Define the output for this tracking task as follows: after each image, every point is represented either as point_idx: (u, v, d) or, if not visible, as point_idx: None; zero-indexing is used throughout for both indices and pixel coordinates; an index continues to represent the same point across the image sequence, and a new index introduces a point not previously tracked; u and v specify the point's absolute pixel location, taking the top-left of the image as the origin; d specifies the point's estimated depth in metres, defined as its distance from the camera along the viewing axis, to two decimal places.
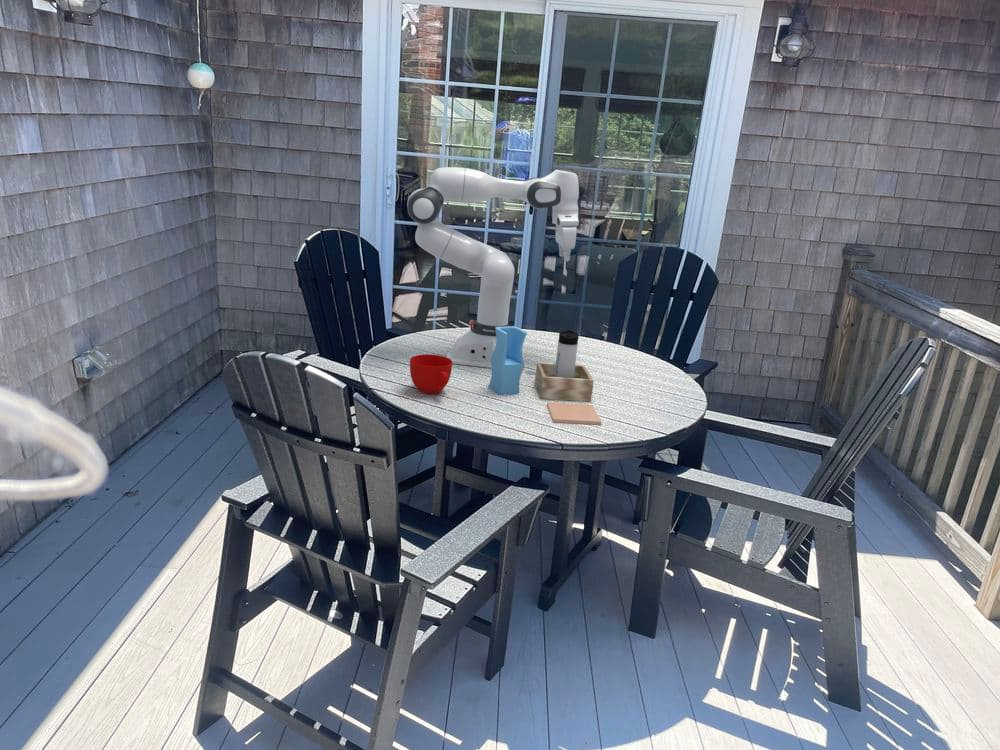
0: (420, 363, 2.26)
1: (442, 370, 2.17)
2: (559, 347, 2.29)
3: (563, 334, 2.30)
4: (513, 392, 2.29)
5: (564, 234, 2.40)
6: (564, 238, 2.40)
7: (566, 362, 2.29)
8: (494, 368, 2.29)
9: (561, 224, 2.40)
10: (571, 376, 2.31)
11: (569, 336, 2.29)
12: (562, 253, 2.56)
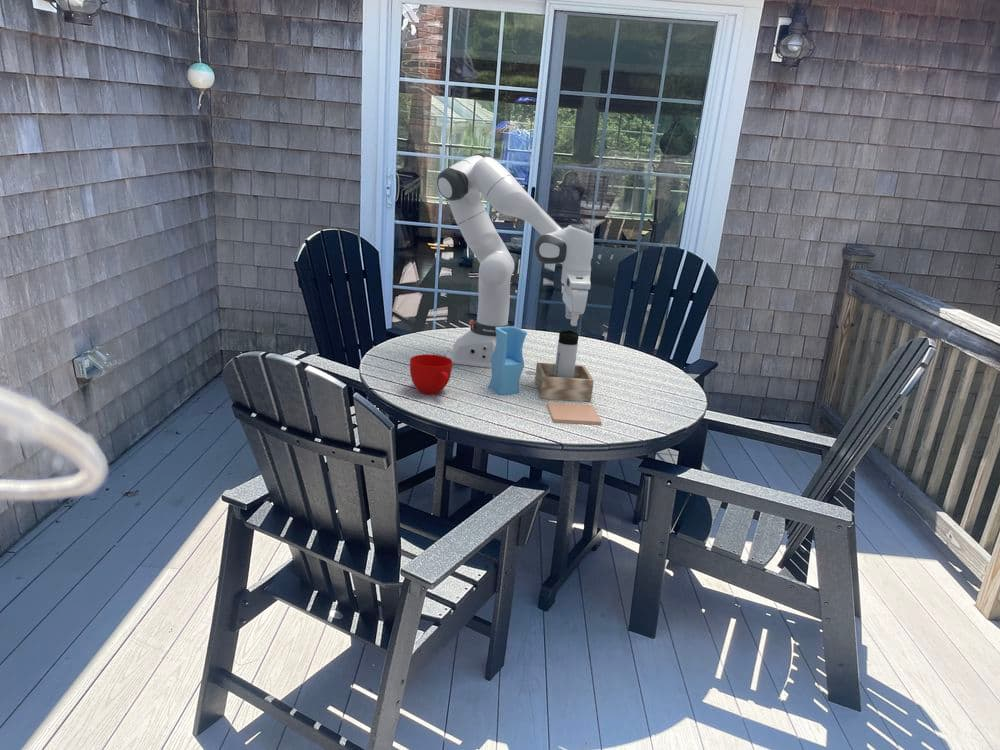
0: (420, 363, 2.26)
1: (442, 370, 2.17)
2: (559, 347, 2.29)
3: (563, 334, 2.30)
4: (513, 392, 2.29)
5: (574, 298, 2.16)
6: (573, 302, 2.17)
7: (566, 362, 2.29)
8: (494, 368, 2.29)
9: (571, 286, 2.16)
10: (571, 376, 2.31)
11: (569, 336, 2.29)
12: (569, 315, 2.32)
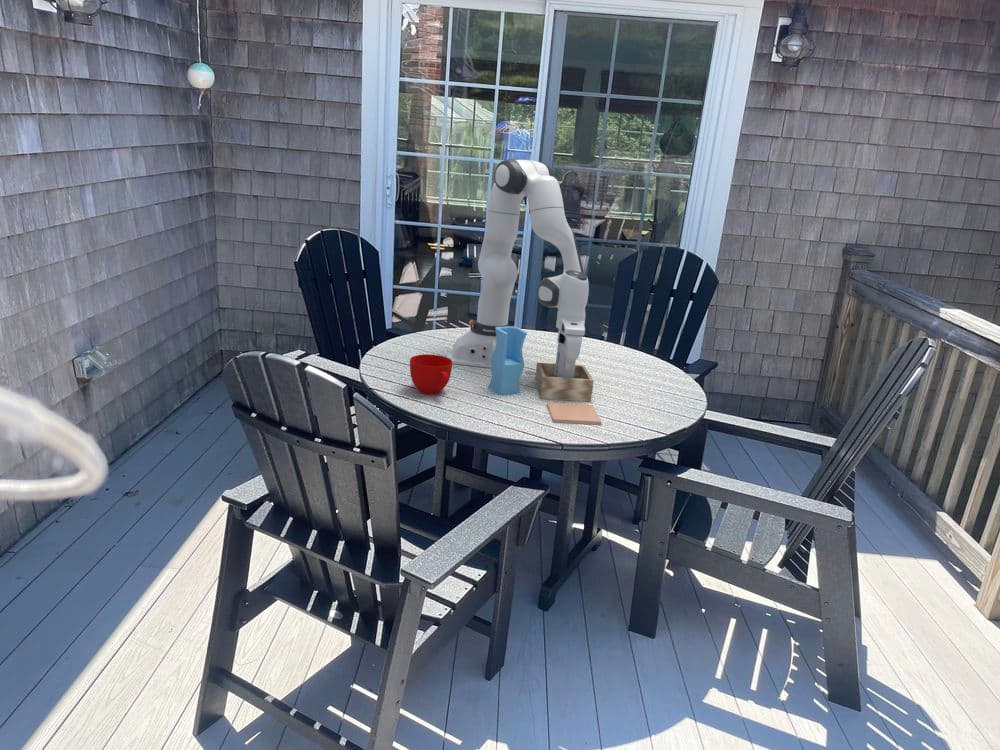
0: (420, 363, 2.26)
1: (442, 370, 2.17)
2: (559, 347, 2.29)
3: None
4: (513, 392, 2.29)
5: (568, 344, 2.21)
6: (568, 348, 2.21)
7: None
8: (494, 368, 2.29)
9: (566, 332, 2.21)
10: (571, 376, 2.31)
11: None
12: None
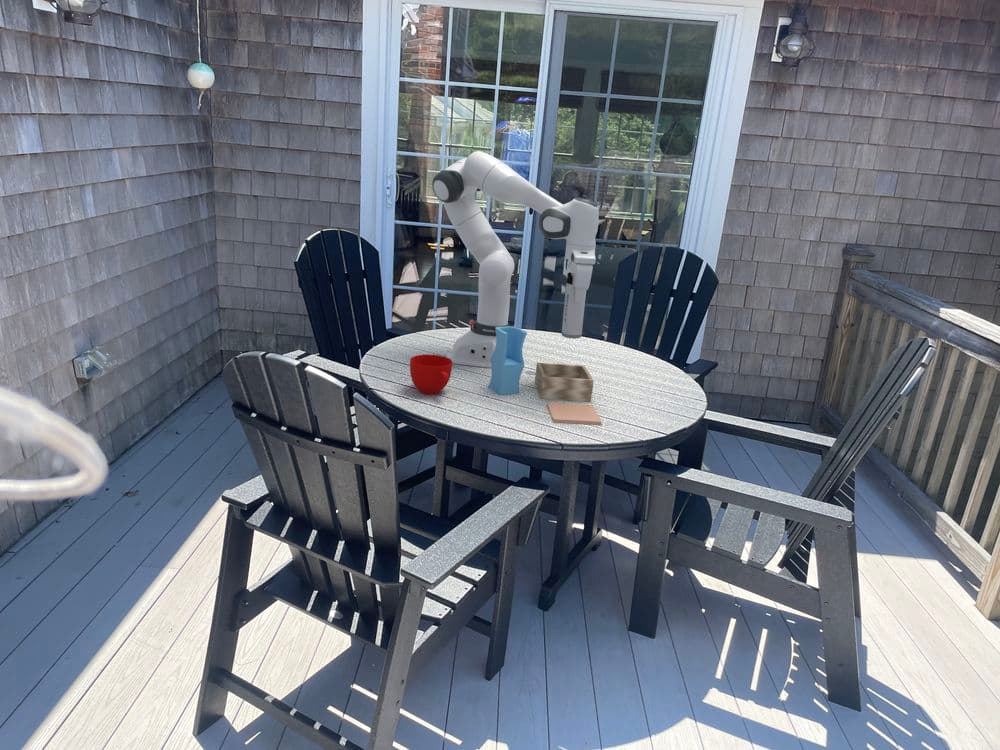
0: (420, 363, 2.26)
1: (442, 370, 2.17)
2: (568, 288, 2.21)
3: (571, 275, 2.22)
4: (513, 392, 2.29)
5: (578, 272, 2.11)
6: (578, 277, 2.12)
7: (575, 303, 2.21)
8: (494, 368, 2.29)
9: (576, 261, 2.11)
10: (581, 318, 2.23)
11: None
12: None
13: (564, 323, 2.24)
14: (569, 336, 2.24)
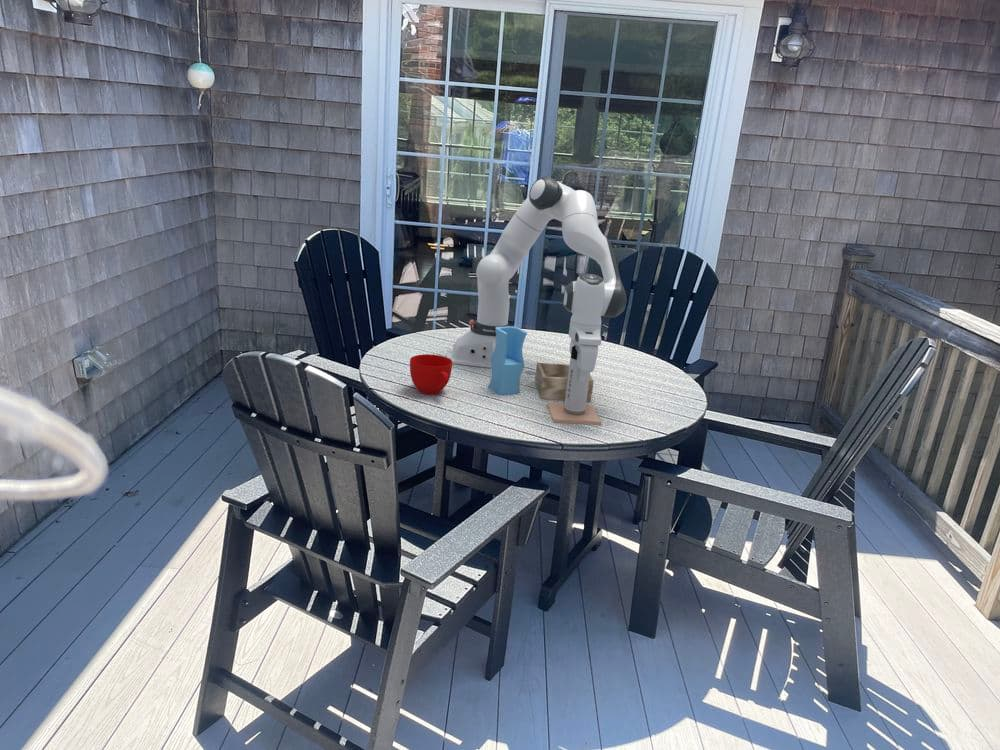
0: (420, 363, 2.26)
1: (442, 370, 2.17)
2: (572, 363, 2.09)
3: None
4: (513, 392, 2.29)
5: (583, 355, 2.00)
6: (582, 359, 2.00)
7: None
8: (494, 368, 2.29)
9: (580, 342, 2.00)
10: (585, 394, 2.12)
11: None
12: None
13: (567, 399, 2.13)
14: (572, 413, 2.12)
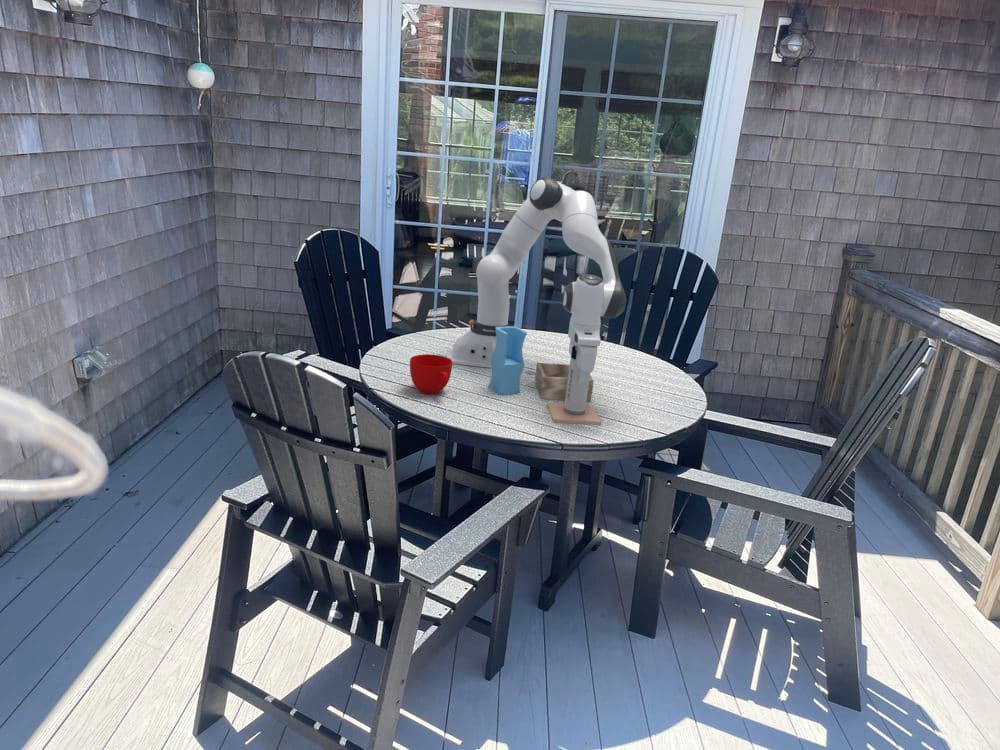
0: (420, 363, 2.26)
1: (442, 370, 2.17)
2: (572, 363, 2.09)
3: None
4: (513, 392, 2.29)
5: (582, 355, 2.00)
6: (581, 360, 2.00)
7: None
8: (494, 368, 2.29)
9: (579, 343, 2.00)
10: (585, 394, 2.12)
11: None
12: None
13: (567, 399, 2.13)
14: (572, 413, 2.12)
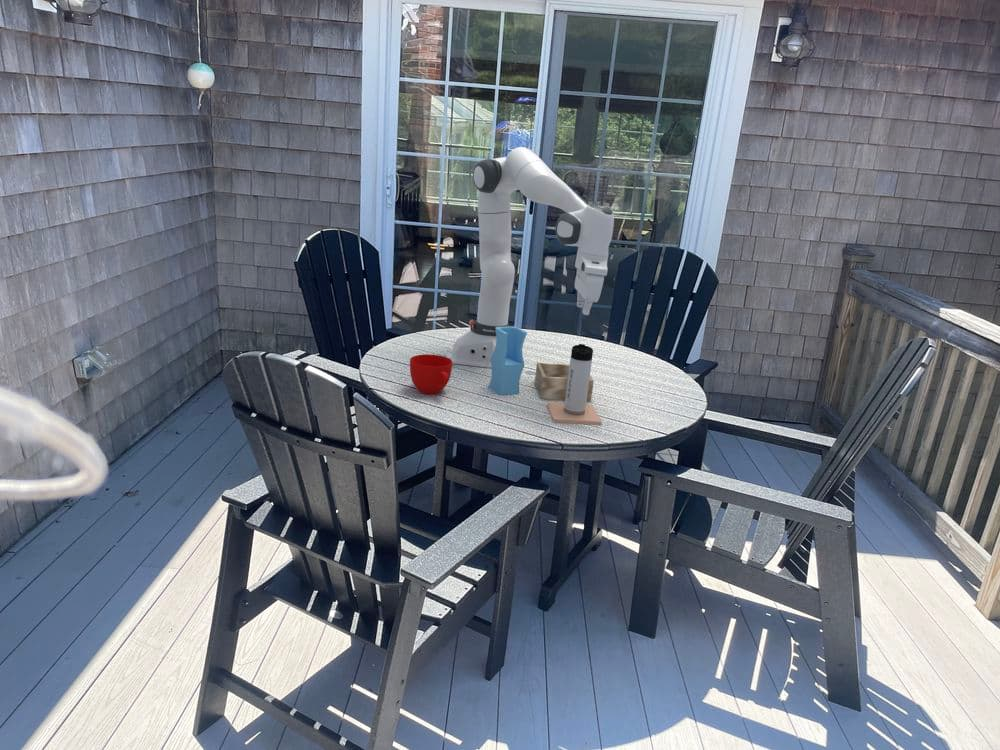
0: (420, 363, 2.26)
1: (442, 370, 2.17)
2: (572, 363, 2.09)
3: (576, 349, 2.10)
4: (513, 392, 2.29)
5: (588, 284, 1.98)
6: (587, 288, 1.98)
7: (580, 379, 2.09)
8: (494, 368, 2.29)
9: (586, 271, 1.98)
10: (585, 394, 2.12)
11: (583, 351, 2.09)
12: (580, 303, 2.13)
13: (567, 399, 2.13)
14: (572, 413, 2.12)
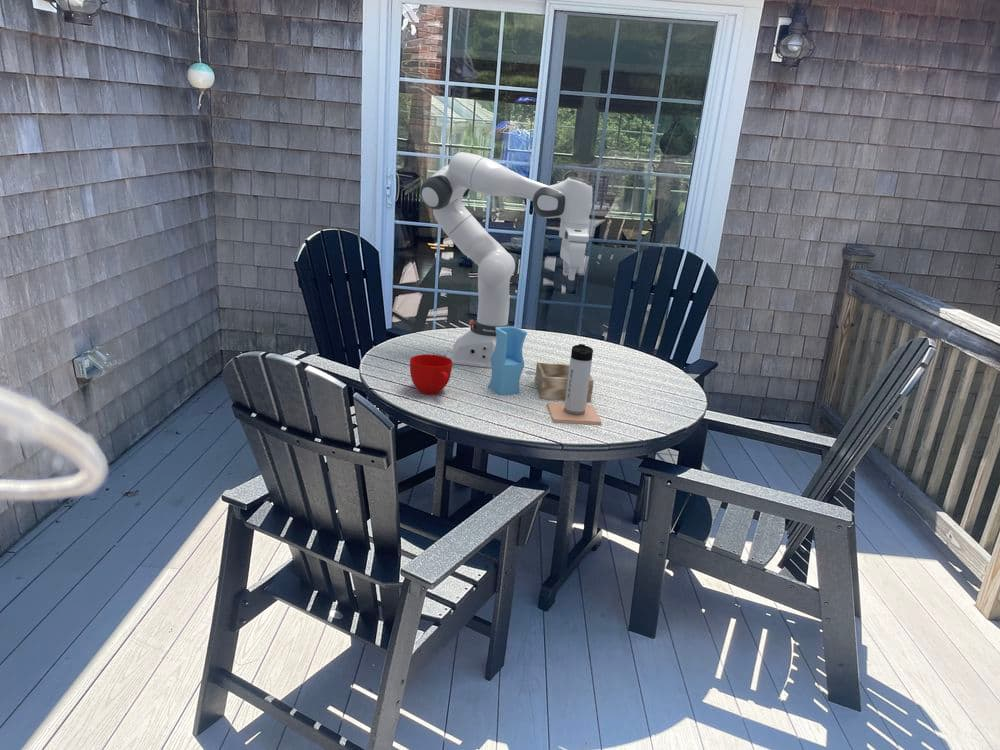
0: (420, 363, 2.26)
1: (442, 370, 2.17)
2: (572, 363, 2.09)
3: (576, 349, 2.10)
4: (513, 392, 2.29)
5: (571, 250, 2.14)
6: (571, 255, 2.14)
7: (580, 379, 2.09)
8: (494, 368, 2.29)
9: (569, 239, 2.14)
10: (585, 394, 2.12)
11: (583, 351, 2.09)
12: (566, 271, 2.29)
13: (567, 399, 2.13)
14: (572, 413, 2.12)
